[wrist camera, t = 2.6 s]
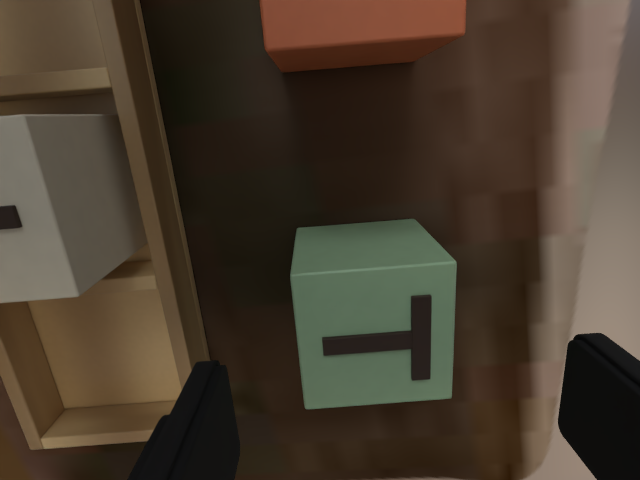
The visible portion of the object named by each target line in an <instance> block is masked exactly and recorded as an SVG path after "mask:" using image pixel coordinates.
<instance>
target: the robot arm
mask: <svg viewBox="0 0 640 480" xmlns="http://www.w3.org/2000/svg"><path fill="white" fill-rule="evenodd" d="M558 425H559V429H560V432H561V434H562V435H563V437H564V438H565V439H566V440H567V442H568V443H569V444H570V446H571V447H572V448H573V450H574V451H575V452H576V453H577V454H578V456H579V457H580V458H581V460H582V461H583V462H584V464H585V465H586V466H587V467H588V469H589V470H590V471H591V473H592V474H593V475H594V476H595V478H596V479H597V480H640V361H639V360H637V359H636V358H635V357H633V356H632V355H631V354H630V353H628V352H627V351H625V350H624V349H623V348H621V347H620V346H619V345H617V344H616V343H615V342H613V341H612V340H610V339H609V338H608V337H607V336H605V335H604V334H601V333H590V334H578V335H576V336H575V337H574V338H573V340H572V341H570V342H569V343H568V348H567V355H566V363H565V371H564V378H563V386H562V394H561V402H560V409H559V417H558ZM239 456H240V441H239V435H238V429H237V424H236V418H235V412H234V407H233V401H232V395H231V389H230V384H229V378H228V372H227V368H226V366H225V365H220V363H219V361H218V360H214V361H200V362H196V363H195V365H194V367H193V369H192V371H191V373H190V375H189V377H188V379H187V381H186V383H185V385H184V387H183V389H182V391H181V393H180V395H179V397H178V399H177V401H176V403H175V405H174V407H173V409H172V411H171V413H170V414H168V415H164V416H162V417H161V418H160V420H159V421H158V423H157V425H156V427H155V428H154V430H153V432H152V434H151V436H150V438H149V440H148V442H147V444H146V445H145V447H144V449H143V451H142V453H141V455H140V457H139V459H138V461H137V462H136V464H135V466H134V468H133V470H132V472H131V474H130V476H129V478H128V479H127V480H234V478H235V474H236V470H237V465H238V461H239Z"/></svg>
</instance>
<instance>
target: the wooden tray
mask: <svg viewBox="0 0 640 480" xmlns="http://www.w3.org/2000/svg"><path fill="white" fill-rule="evenodd" d="M20 114H118V116H119V120H120V125H121V129H122V133H123V138H124V142H125V146H126V151H127V155H128V159H129V164H130V168H131V172H132V177H133V181H134V185H135V190H136V194H137V198H138V203H139V207H140V211H141V216H142V220H143V224H144V229H145V233H146V237H147V242H148V243H147V244H146V245H144V246H143V247H142V248H141V249H139V250H138V251H137V252H136V253H134V254H133V255H132V256H130V257H129V258H128V259H127V260H125V261H124V262H123V263H121V264H120V265H119V266H118V267H116V268H115V269H114V270H112V271H111V272H110V273H109V274H107V275H106V276H105V277H103V278H102V279H101V280H100V281H98V282H97V283H96V284H94V285H93V286H92V287H91V288H89V289H88V290H87V291H85V292H84V293H83V294H82V295H80V296H79V297H73V298H60V299H47V300H35V301H22V302H9V303H0V376H1V378H2V381H3V383H4V386H5V388H6V391H7V393H8V395H9V398H10V400H11V403H12V405H13V408H14V410H15V413H16V415H17V418H18V420H19V423H20V425H21V428H22V430H23V433H24V435H25V438H26V440H27V443H28V445H29V448H30V449H31V450H37V449H43V448H44V449H50V448H63V447H76V446H89V445H103V444H116V443H129V442H142V441H148V440H149V438H150V436H151V434H152V432H153V430H154V428H155V427H156V425H157V423H158V421H159V420H160V418H161V417H162V416H164V415H168V414H170V413H171V411H172V409H173V407H174V405H175V403H176V401H177V399H178V397H179V395H180V393H181V391H182V389H183V387H184V385H185V383H186V381H187V379H188V377H189V375H190V373H191V371H192V369H193V367H194V365H195V363H196V362H200V361H210V357H209V352H208V346H207V341H206V336H205V331H204V326H203V321H202V316H201V311H200V306H199V301H198V296H197V290H196V285H195V280H194V275H193V270H192V265H191V260H190V255H189V250H188V245H187V240H186V234H185V229H184V224H183V219H182V214H181V209H180V204H179V199H178V194H177V189H176V184H175V178H174V173H173V168H172V163H171V158H170V153H169V148H168V143H167V138H166V133H165V128H164V122H163V117H162V112H161V107H160V102H159V97H158V92H157V87H156V82H155V77H154V72H153V66H152V61H151V56H150V51H149V46H148V41H147V36H146V31H145V26H144V21H143V16H142V10H141V5H140V0H0V116H8V115H20Z"/></svg>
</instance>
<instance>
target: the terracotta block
mask: <svg viewBox="0 0 640 480" xmlns="http://www.w3.org/2000/svg"><path fill="white" fill-rule="evenodd" d="M259 2H260V11H261V20H262V29H263V38H264V47H265V50H266V52H267V53H268V55H269V56H270V57H271V59H272V60H273V61H274V63H275V64H276V65H277V67H278V68H279V69H280V71H281V72H295V71H307V70H319V69H332V68H344V67H356V66H368V65H380V64H392V63H404V62H414V61H415V60H417V59H419V58H421V57H423V56H425V55H427V54H429V53H431V52H433V51H434V50H436V49H438V48H440V47H442V46H444V45H446V44H448V43H450V42H452V41H453V40H455V39H457V38H459V37H461V36H463V35H464V33H465V21H466V0H259Z"/></svg>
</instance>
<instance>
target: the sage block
mask: <svg viewBox="0 0 640 480" xmlns="http://www.w3.org/2000/svg"><path fill="white" fill-rule="evenodd" d="M456 269H457V263H456V261H455V260H454V259H453V258H452V257H451V256H450V255H449V254H448V253H447V252H446V251H445V250H444V249H443V248H442V246H441V245H440V244H439V243H438V242H437V241H436V240H435V239H434V238H433V237H432V236H431V235H430V234H429V233H428V232H427V231H426V230H425V229H424V228H423V227H422V226H421V225H420V224H419V223H418V222H417V221H416V220H415V219H404V220H391V221H379V222H366V223H354V224H341V225H328V226H316V227H303V228H297V230H296V237H295V244H294V251H293V258H292V265H291V273H290V281H291V290H292V299H293V308H294V317H295V326H296V335H297V344H298V353H299V362H300V371H301V380H302V389H303V398H304V407H305V409H319V408H332V407H346V406H359V405H372V404H385V403H398V402H411V401H424V400H437V399H450V398H451V397H452V378H453V351H454V324H455V296H456Z"/></svg>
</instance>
